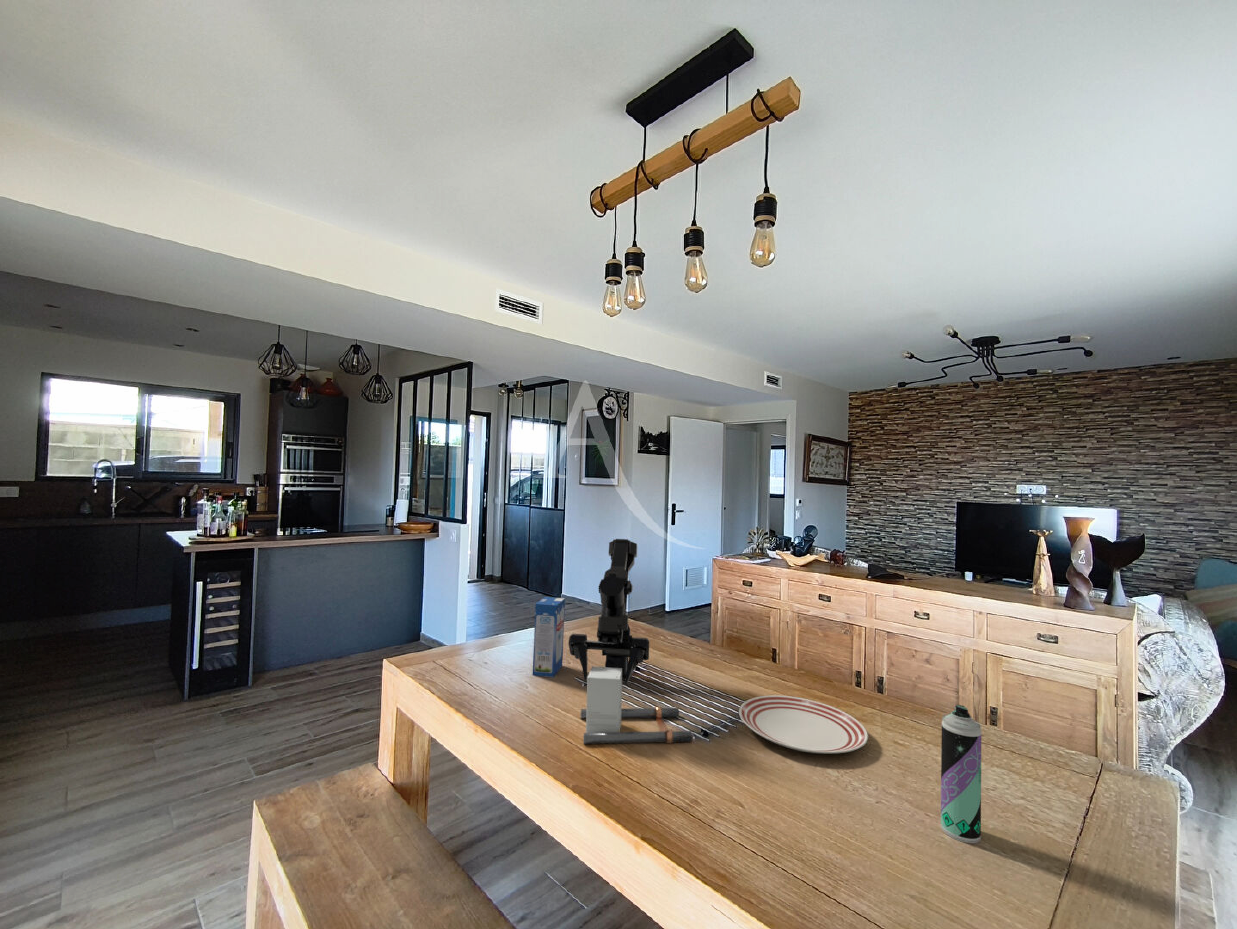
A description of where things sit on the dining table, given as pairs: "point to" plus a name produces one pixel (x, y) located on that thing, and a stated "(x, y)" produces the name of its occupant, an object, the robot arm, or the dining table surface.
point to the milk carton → (548, 636)
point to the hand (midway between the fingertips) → (605, 681)
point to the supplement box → (604, 700)
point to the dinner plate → (803, 724)
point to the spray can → (961, 776)
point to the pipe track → (641, 737)
